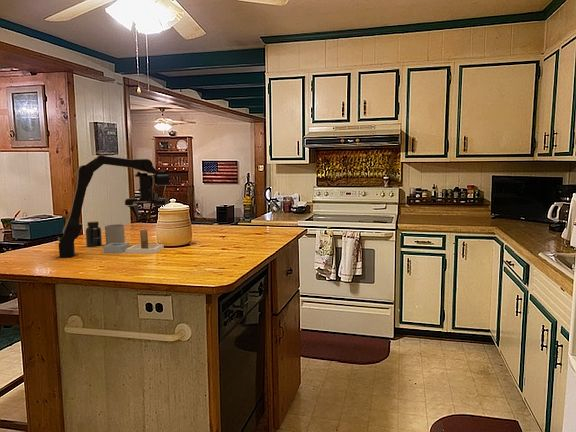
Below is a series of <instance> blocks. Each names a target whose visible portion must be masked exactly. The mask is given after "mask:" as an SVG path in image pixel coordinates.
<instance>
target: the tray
mask: <svg viewBox="0 0 576 432" xmlns="http://www.w3.org/2000/svg"><path fill="white" fill-rule="evenodd" d="M164 247H165V245H164V244H162V243H161V244H159V243H156V244H155V243H153V244H151V243H148V249H141V243H139V244H138V243H137V244H134V245H133V244H132V246H131V245H130V246H129V248H127V249H125V254H156V253H158V252H161V250H163V249H164Z"/></svg>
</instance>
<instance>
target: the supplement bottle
mask: <svg viewBox="0 0 576 432" xmlns="http://www.w3.org/2000/svg"><path fill="white" fill-rule="evenodd" d="M99 223H100V222H99V221H94V220H93V221H87V227H86V228H85V242H86V243H85V244H86V247H87V248H97V247H98V248H99V247H103V246H102V245H103V241H102V240H103V239H102V228H101V227H100V226H99Z"/></svg>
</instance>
